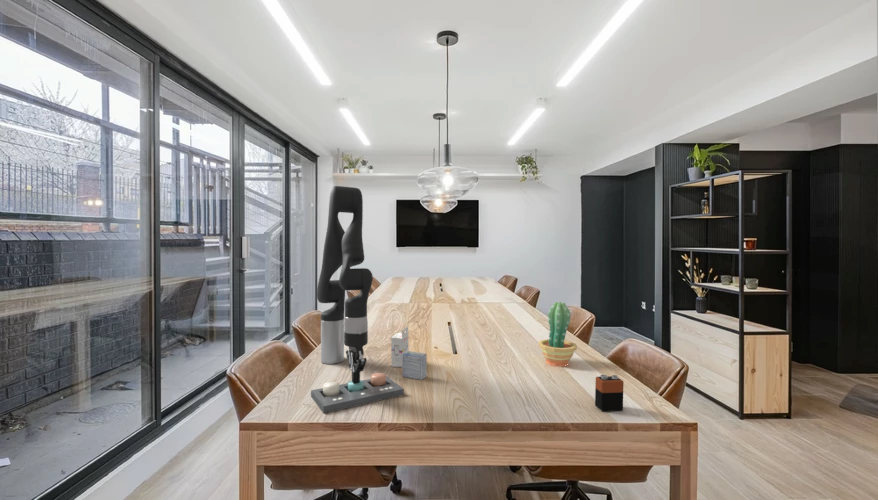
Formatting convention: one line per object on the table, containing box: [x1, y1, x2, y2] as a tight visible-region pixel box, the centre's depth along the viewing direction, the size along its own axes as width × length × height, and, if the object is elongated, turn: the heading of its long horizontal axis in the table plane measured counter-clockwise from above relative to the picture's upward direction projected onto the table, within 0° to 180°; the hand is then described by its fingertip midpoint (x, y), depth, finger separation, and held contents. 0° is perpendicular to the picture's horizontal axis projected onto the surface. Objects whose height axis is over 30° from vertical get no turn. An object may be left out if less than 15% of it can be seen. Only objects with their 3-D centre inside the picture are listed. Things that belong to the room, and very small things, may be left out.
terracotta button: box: [370, 372, 387, 387], centre depth 132 cm, size 5×5×3 cm
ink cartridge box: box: [390, 326, 409, 368], centre depth 158 cm, size 9×5×15 cm, turn 168°
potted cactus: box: [538, 301, 578, 367], centre depth 161 cm, size 15×15×25 cm
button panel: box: [310, 375, 405, 414], centre depth 126 cm, size 14×26×2 cm, turn 122°
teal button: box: [347, 379, 364, 392], centre depth 127 cm, size 5×5×3 cm
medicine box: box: [402, 350, 428, 381], centre depth 144 cm, size 8×4×9 cm, turn 65°
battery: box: [594, 374, 624, 412], centre depth 118 cm, size 4×7×10 cm, turn 96°
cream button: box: [322, 381, 341, 398], centre depth 123 cm, size 5×5×3 cm
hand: (355, 382), depth 127 cm, fingers closed
